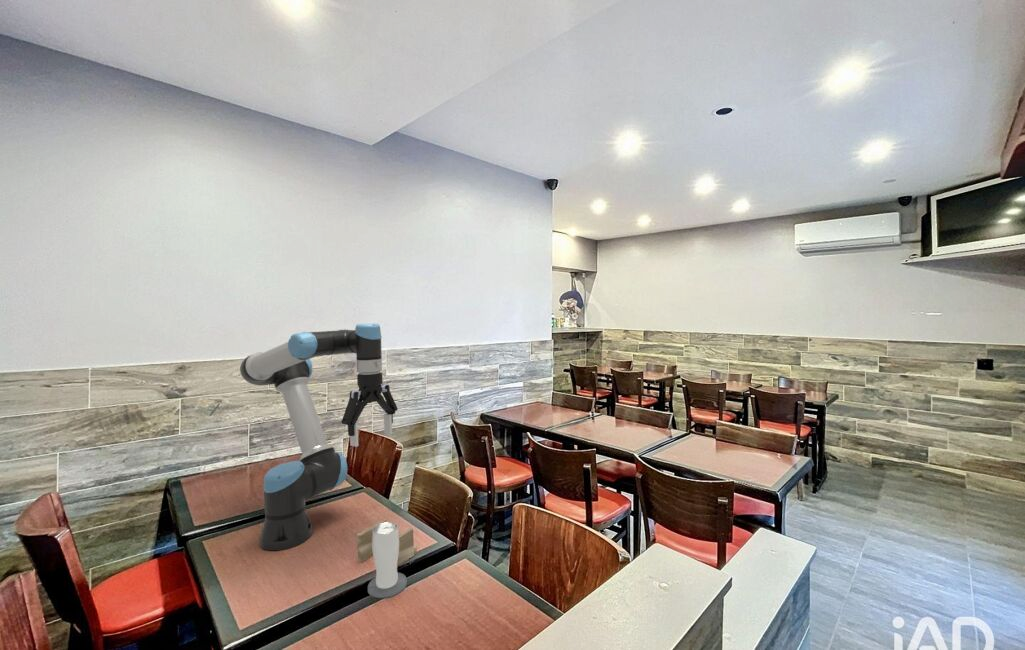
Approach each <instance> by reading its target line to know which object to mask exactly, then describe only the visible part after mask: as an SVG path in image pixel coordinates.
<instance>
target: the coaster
mask: <svg viewBox="0 0 1025 650" xmlns="http://www.w3.org/2000/svg"><path fill="white" fill-rule="evenodd" d="M397 573H398V577H399V583H398V585H397V586H396V587H394V588H392V589H390V590H386V591H381V590H378V589H377V588H376V587H375V582H376V576H375V577H374V578H372V579H371V580H370V581H369V583H368V585H367V593H368V595H369V596H370V597H372V598H376V599H388V598H392V597H395V596H397V595H398V594H400V593H401V592H403V591H404V590H405V588H406V587H407V585H408V578H407V577H406V575H405V574H404V573H401V572H398V571H397Z"/></svg>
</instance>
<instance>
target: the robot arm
mask: <svg viewBox="0 0 1025 650" xmlns="http://www.w3.org/2000/svg"><path fill="white" fill-rule="evenodd" d="M382 338H383V337H382V331H381V326H380V324H378V323H358V324H356V325H355V327H354V329H346V328H345V329H338V330H328V331H327V330H326V331H301V332H296V333H293V334H292V335H291V336H290V338H289V339H288V341H287V342H284V343H282V344H280V345H278V346H275V347H273V348H271V349H268V350H267V351H264V352H263V351H262V352H255V353H252V354H250V355H248V356H247V357H245V358H244V359H243V360H242V362H241V364H240V368H239V372H240V375H241V377H242V378H243V380H244V381H246V382H247V383H249V384H251V385H255V386H269V385H274V389H275V391H276V392H279V393H282V396H283V399H284V402H285V406H286V409H287V412H288V415H289V418H290V421H291V424H292V427H293V430H294V433H295V437H296V439H297V443H298V445H299V448H300V451H301V457H300V458H299V460H292V461H289V462H283V463H280V464H277V465H275V466H273V467H271V468H270V469H269V470H268V471H266V474H265V475H264V477H263V487H262V489H263V497H264V498H263V501H264V517H265V518H264V522H263V526H262V527H261V528H262V529H261V533H260V536H259V546H260V548H261V549H263V550H266V551H283V550H286V549H289V548H290V549H291V548H293V547H296V546H298V545H301V544H302V543H304V542H305V541H307V540H308V539H309V538H310V537H312V534H313V524H312V522H311V519H310V517H309V515H308V513H307V510H306V500H308V499H310V498H312V497H313V498H314V497H316V496H318V495H320V494H322V493H326V492H328V491H331V490H332V491H333V489H335V488H337V487H339V486H341V485H342V484H343V483H344V482H345V481H346V478H347V474H348V464H347V460H346V457H345V455H343V453H342V452H337V451H335V450H336V449H335V448H334V446H332V445H330V444H328V442H327V439H326V436H325V433H324V431H323V427H322V424H321V421H320V418H319V416H318V412H317V409H316V407H315V404H314V400H313V397H312V395H311V393H310V390H309V387H308V384H309V382H310V381H311V379H310V377H311V376H312V374H313V369H312V368H313V364H312V361H311V359H313V358H316V357H322V356H333V355H334V356H335V355H341V354H356V373H358V374H357V375H356V377H357V378H356V380H357V383H356V384H357V386H358V391H353V390H350V392H349V399H348V402H347V405H346V408H345V411H344V412H343V413H344V414H343V417H342V418H341V424H342V425H347V435H348V436H349V442H350V445H349V446H350V447H355V448H356V447H359V425H358V424H357V421H358V420H359V417H361V414H362V412H363V411H364V409H365V407H366V406H367V405H368V404H371V403H374V402H376V403H377V404H378V405H379V406H380V407H381V408H382V410H383V411H384V412H385V413H384V414H383V425H384V426H383V427H384V428H383V429H384V434H385V435H388V436H391V435H393V424H394V418H393V417H394V416H393V415H395V414H396V412H397V411H398V406H397V404H396V402H395V399H394V398H393V395H392V392H391V389H390V385H389V384H383V382H384V381H383V380H384V379H383V373H382V370H383V360H382V354H383V353H382Z"/></svg>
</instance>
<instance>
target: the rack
mask: <svg viewBox="0 0 1025 650" xmlns="http://www.w3.org/2000/svg"><path fill="white" fill-rule="evenodd" d="M384 522H388V520H387V519H381V520H380V521H378V522H377V523H375V524H373V525H371V526H369V527H368V528H366V529H364V530H362V531H361V532H359V533H357V534H356V537H357V538H356V539H357V540H356V541H357V561H358V562H359V563H363V562H365V561H366V560H368V559H370V558H371V557H373V552H372V529H373V528H374V527H375V526H376V525H378V524H380V523H384ZM414 540H415V539H414V528H411V527H408V528H407V529H405V530H403V531H402V532H401V533H399V555H398V562H397V568H398V566H399V565H400V564H401V565H403V564H404V563H405V561H406V562H407V561H408V560H410V559H411V558H412V557H414V556H415V555H417V554H416V553H418V550H417V546H416V545H414V543H415V541H414ZM409 558H410V559H409ZM402 563H403V564H402ZM401 565H400V566H401ZM400 566H399V567H400Z"/></svg>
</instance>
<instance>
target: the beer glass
mask: <svg viewBox="0 0 1025 650" xmlns="http://www.w3.org/2000/svg"><path fill="white" fill-rule="evenodd" d="M399 534H400V533H399V525H398V523H396V522H393V521H387V522H384V523H380V524H378V525H376V526H375V527H374V528H373V529H372V552H373V556H372V558H373V561H374V565H375V570H376V573H375V574H376V576H375V577H376V582H375V587H376V588H377V589H378V590H381V591H386V590H390V589H392V588H394V587H396V586H397V585H398V583H399V577H398V573H399V572H398V567H397V562H398V555H399ZM397 572H398V573H397Z"/></svg>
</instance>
